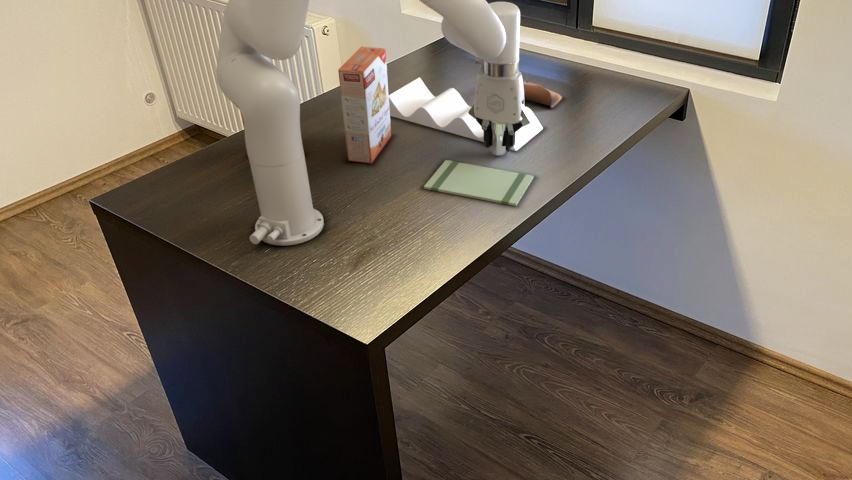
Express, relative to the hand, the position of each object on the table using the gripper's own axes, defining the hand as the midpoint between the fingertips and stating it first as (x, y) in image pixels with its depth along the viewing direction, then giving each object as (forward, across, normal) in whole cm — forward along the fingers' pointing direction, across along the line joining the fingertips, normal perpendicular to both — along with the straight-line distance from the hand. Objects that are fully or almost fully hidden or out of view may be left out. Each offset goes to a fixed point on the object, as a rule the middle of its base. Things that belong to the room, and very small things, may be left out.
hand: (499, 145), depth 164 cm
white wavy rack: (+2, -13, +13) cm, 18 cm away
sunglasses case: (+2, -4, +32) cm, 32 cm away
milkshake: (+2, 0, 0) cm, 2 cm away
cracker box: (+3, -28, -7) cm, 29 cm away
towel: (+2, 0, -13) cm, 13 cm away
